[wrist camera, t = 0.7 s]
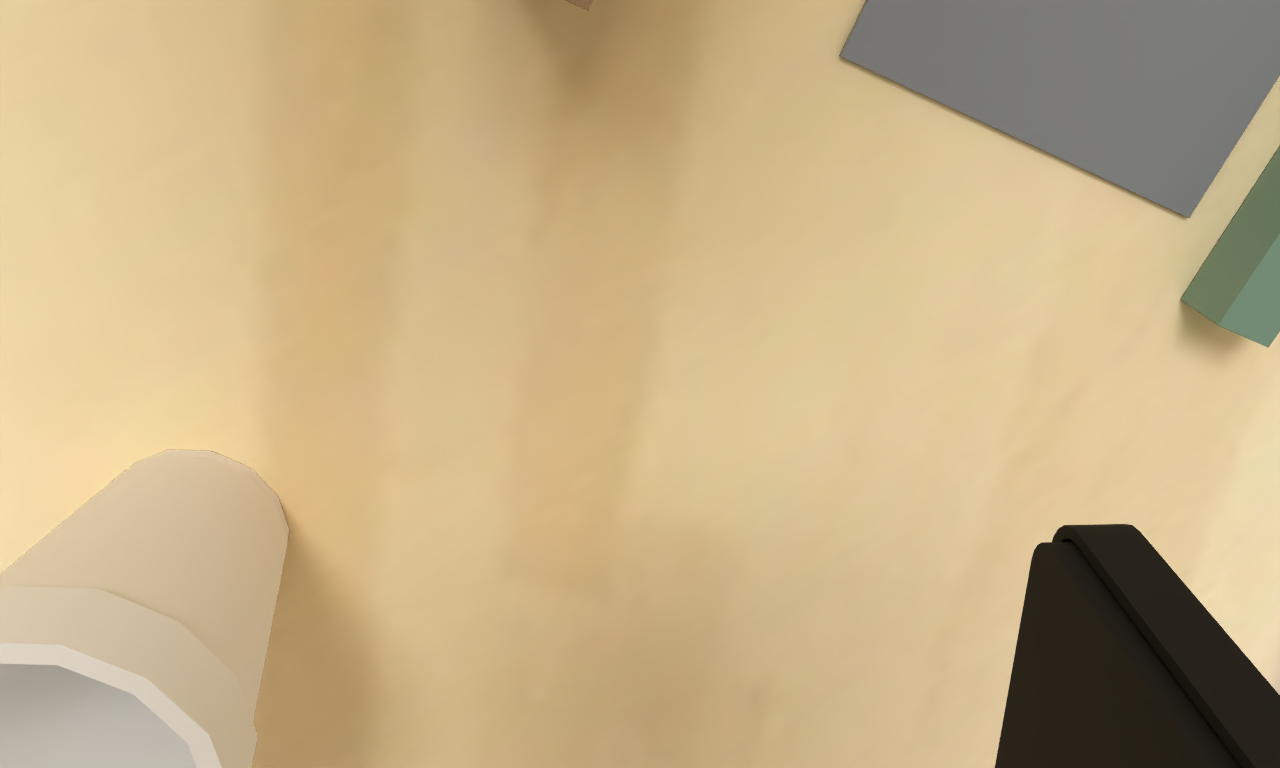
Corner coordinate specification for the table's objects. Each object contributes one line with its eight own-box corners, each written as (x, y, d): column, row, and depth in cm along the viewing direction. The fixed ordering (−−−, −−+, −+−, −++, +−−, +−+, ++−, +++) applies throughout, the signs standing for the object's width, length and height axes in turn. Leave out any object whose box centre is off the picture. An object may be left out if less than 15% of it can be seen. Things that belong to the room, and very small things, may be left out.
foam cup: (376, 482, 40) (292, 735, 28) (273, 672, 43) (157, 973, 31) (113, 362, 38) (-101, 582, 26) (23, 572, 41) (-205, 855, 29)
